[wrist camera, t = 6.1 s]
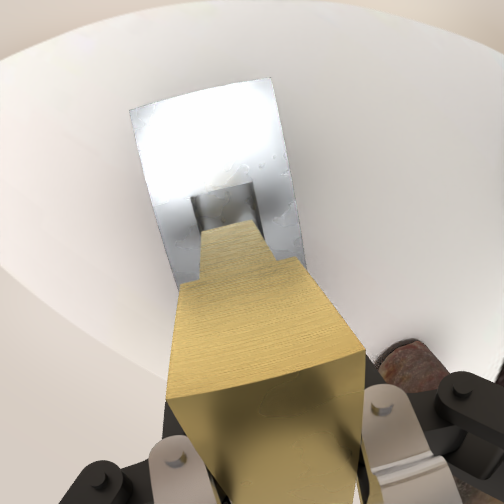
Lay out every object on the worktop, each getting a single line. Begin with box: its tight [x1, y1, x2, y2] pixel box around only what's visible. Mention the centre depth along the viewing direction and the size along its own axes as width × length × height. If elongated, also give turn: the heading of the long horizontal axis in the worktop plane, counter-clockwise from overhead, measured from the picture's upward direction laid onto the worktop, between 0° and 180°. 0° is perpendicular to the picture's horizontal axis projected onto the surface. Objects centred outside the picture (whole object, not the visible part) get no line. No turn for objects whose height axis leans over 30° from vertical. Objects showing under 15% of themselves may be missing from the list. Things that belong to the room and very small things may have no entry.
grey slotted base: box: [129, 77, 307, 291], centre depth 20 cm, size 8×20×3 cm, turn 12°
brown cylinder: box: [378, 341, 504, 504], centre depth 19 cm, size 8×7×20 cm
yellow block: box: [166, 219, 366, 504], centre depth 9 cm, size 3×7×8 cm, turn 12°
